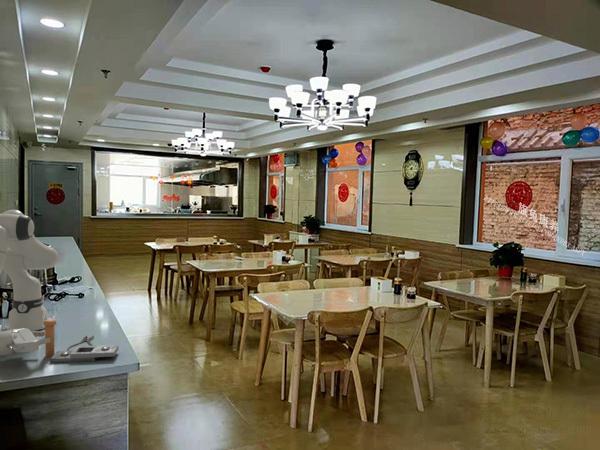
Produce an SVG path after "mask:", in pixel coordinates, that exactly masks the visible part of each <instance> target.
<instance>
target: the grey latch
mask: <svg viewBox="0 0 600 450" xmlns="http://www.w3.org/2000/svg"><path fill="white" fill-rule="evenodd" d="M118 351H119V345H118V344H115V345H113V344H112V345H111V344H110V345H93V346H90V345H84V346H83V345H82V346H78V345H77V346H75V348H74V349H73V350H69V351H67V350H57V351H56V352H55V354H54V355H53V356H52V357H49V358H50V359H49V364H61V363H63V364H64V363H85V362H95V361H96V360H97V359H98V358H107V357H108V358H110V357H115V356H116V354H117V352H118Z"/></svg>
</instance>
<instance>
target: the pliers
mask: <svg viewBox="0 0 600 450" xmlns="http://www.w3.org/2000/svg"><path fill="white" fill-rule="evenodd" d="M94 338H95V336H94V335H92V336H90V337H89V338H88V335H86V336H84V337H83V338H82V340H81V341H80V342H78V343H75V344H72V345H70V346H69V347H68V348H67V349H66V351H70V349H71V348H73V347H77V346H78V345H81V344H84V343H87V345H88V346H94V344H92V343H91V341H93V340H94Z"/></svg>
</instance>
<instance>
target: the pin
mask: <svg viewBox="0 0 600 450" xmlns="http://www.w3.org/2000/svg"><path fill="white" fill-rule="evenodd" d="M43 325H44V326H45V329H44V332H45V336H44V338H45V337H49V338H50V342H49V343H45V344H44V345H45V346H44V351H45V352H44V353H45V354H44V357H45V358H51V357H52V356H53V355H54V354H55V353H56V352H55V351H56V350H55V346H56V345H55V339H56V338H55V325H57V319H53V318H52V319H50V320H45V321H43Z"/></svg>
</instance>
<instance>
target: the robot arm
mask: <svg viewBox="0 0 600 450" xmlns="http://www.w3.org/2000/svg"><path fill="white" fill-rule="evenodd" d="M34 232H35V222H34V220H33V218H31V217H30V216H29V215H25V214H24V213H22V211H20V210H17V209H9V210H6V211H4V212H2V213H0V275H1V274H2V272H3V271H4V273H6V274H7V275H8V277H9V278H10V280H11V283H12V289H13V290H12V291H13V299H12V302H11V305H12V309H11V310H10V311H9V312H8V322H7V323H8V324H7V325H6V326H5V327H4V328H3V329H0V357H1V356H3V357H4V356H8V355H12V354H13V351H14V352H15V353H16V354H17V353H20V354H21V353H28V352H34V351H38V350H39V348H40V346H42V345H45V343H49V342H50V338H49V337H45V326H44V325H43V321H45V320H50V319H53V318H52V317H48V309H47V308H46V307H45V306H44V305H43V304H44V303H43V300H44V296H43V295H42V283H41V281H40V280H39V279H38V278H36V277H35V276H33V275H31V274H30V273H29V272H28V271H29V270H31V271H33V270H39V271H40V270H46V269H52V268H54V267H55V266H56V265H57V263H58V261H59V253H58V252H57V250H56V248H53V247H52V246H49V245H46V244H44V243H43V242H41V241H40V240H39V239H37V238H36V236H35V234H34ZM39 330H42V331H39ZM38 337H39V338H38ZM41 337H43V338H41Z"/></svg>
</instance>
